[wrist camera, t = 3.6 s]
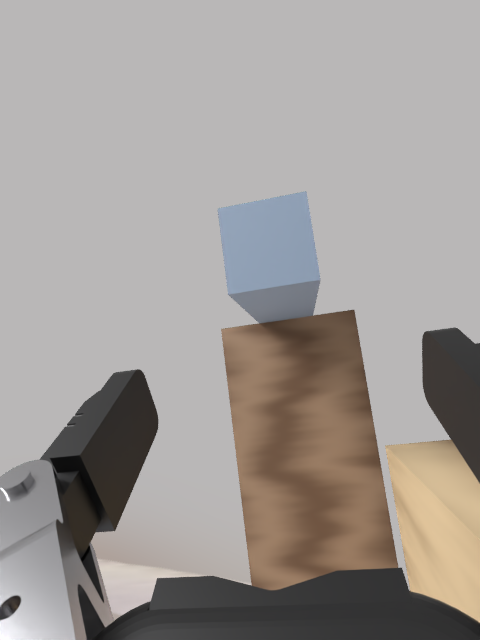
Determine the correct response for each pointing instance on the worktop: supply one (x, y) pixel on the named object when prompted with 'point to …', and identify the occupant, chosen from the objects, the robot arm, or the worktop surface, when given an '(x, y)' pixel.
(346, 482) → the brown wooden block
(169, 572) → the worktop surface
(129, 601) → the worktop surface
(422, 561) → the step
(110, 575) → the worktop surface
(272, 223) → the light blue bar
